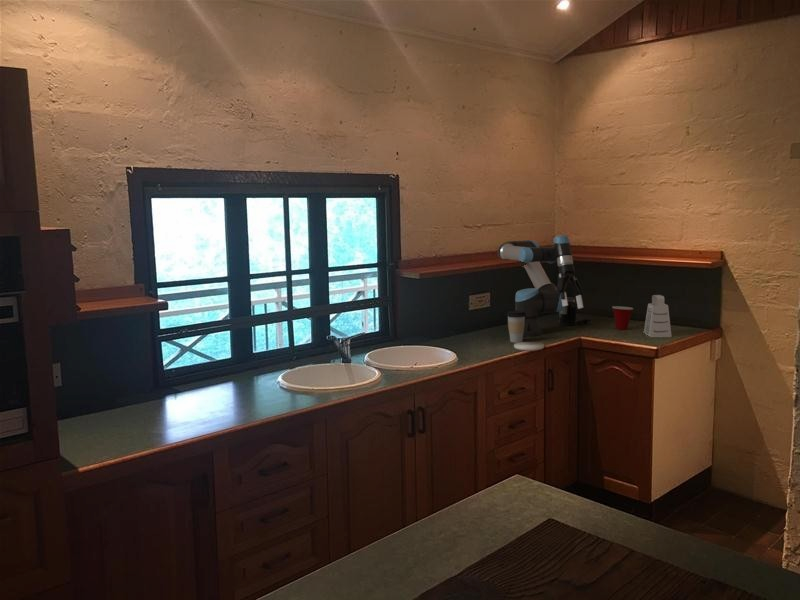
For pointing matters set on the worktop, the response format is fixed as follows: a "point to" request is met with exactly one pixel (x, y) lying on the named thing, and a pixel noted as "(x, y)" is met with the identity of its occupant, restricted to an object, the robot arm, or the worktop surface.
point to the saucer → (529, 346)
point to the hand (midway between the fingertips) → (573, 307)
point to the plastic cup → (622, 316)
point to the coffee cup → (516, 325)
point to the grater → (657, 318)
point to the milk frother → (570, 314)
